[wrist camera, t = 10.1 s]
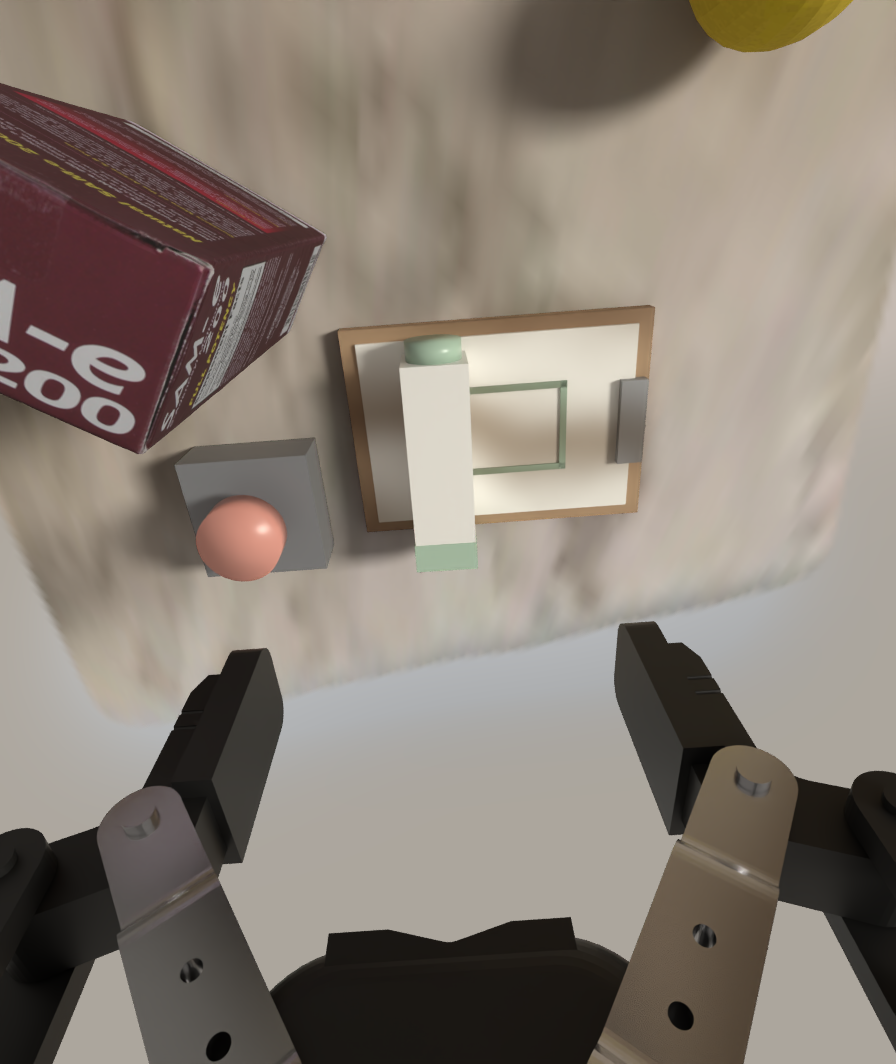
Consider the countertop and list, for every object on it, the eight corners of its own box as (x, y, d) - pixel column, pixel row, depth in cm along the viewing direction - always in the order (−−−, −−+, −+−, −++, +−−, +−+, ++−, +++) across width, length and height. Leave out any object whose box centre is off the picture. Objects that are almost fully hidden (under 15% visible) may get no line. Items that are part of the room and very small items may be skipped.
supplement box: (99, 239, 25) (-326, 259, 11) (130, 117, 23) (-336, -47, 9) (292, 340, 27) (144, 467, 13) (335, 237, 25) (217, 254, 11)
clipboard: (340, 328, 27) (335, 333, 26) (649, 305, 27) (659, 309, 26) (368, 525, 32) (366, 537, 30) (632, 505, 31) (640, 517, 30)
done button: (198, 497, 27) (186, 512, 25) (278, 492, 27) (270, 506, 25) (218, 567, 28) (207, 584, 27) (293, 561, 28) (287, 578, 27)
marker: (395, 348, 24) (416, 572, 28) (468, 343, 24) (477, 568, 28) (399, 335, 26) (418, 543, 31) (465, 331, 26) (473, 539, 31)
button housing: (193, 446, 29) (174, 465, 27) (315, 437, 29) (305, 455, 27) (223, 552, 32) (208, 577, 30) (334, 544, 32) (326, 568, 30)
